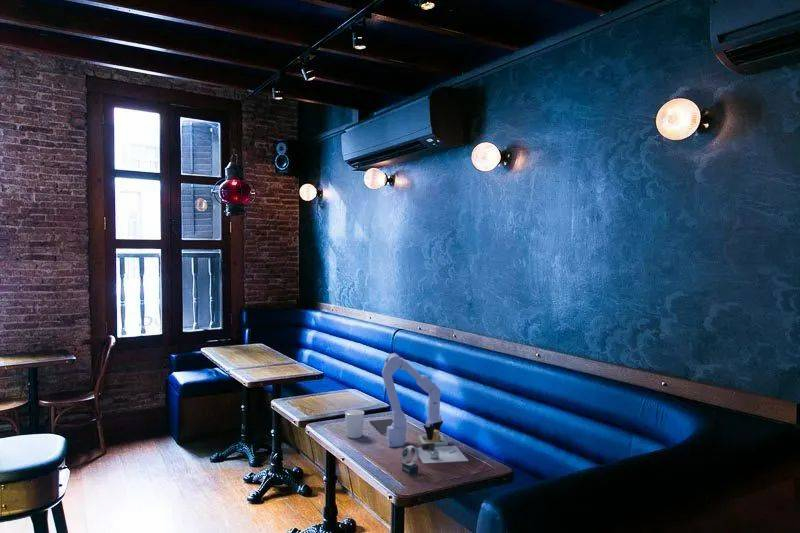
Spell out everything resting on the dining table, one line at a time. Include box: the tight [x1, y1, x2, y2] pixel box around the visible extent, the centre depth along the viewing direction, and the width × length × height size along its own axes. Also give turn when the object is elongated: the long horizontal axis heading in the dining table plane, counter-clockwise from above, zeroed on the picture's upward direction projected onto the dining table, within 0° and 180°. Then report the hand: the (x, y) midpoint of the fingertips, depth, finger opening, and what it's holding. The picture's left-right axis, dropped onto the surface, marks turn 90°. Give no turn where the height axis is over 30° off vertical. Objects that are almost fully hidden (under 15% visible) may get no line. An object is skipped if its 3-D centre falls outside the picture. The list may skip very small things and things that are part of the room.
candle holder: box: [344, 408, 365, 439], centre depth 278 cm, size 10×10×12 cm
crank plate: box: [413, 445, 469, 464], centre depth 253 cm, size 21×19×1 cm
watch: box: [400, 445, 420, 476], centre depth 234 cm, size 6×8×11 cm
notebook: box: [369, 418, 393, 436], centre depth 292 cm, size 13×2×21 cm
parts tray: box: [418, 433, 449, 447], centre depth 269 cm, size 12×12×2 cm
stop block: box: [427, 429, 440, 443], centre depth 269 cm, size 4×4×6 cm
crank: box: [421, 442, 439, 459], centre depth 252 cm, size 14×6×3 cm, turn 12°
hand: (433, 437), depth 269 cm, fingers open, 7 cm apart
